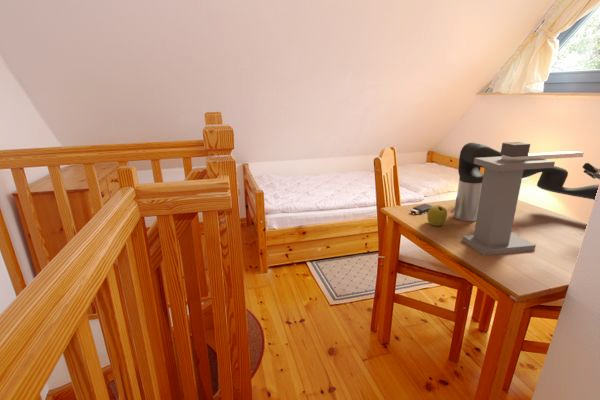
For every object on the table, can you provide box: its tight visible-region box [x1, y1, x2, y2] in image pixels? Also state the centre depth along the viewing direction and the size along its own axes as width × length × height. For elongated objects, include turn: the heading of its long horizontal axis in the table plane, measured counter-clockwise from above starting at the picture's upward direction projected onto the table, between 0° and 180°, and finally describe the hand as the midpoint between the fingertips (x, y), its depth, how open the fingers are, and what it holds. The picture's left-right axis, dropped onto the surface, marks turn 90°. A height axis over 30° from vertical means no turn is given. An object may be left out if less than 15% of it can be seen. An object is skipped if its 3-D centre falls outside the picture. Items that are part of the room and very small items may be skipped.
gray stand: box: [461, 156, 556, 256], centre depth 115 cm, size 20×12×32 cm, turn 98°
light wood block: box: [500, 141, 584, 161], centre depth 110 cm, size 28×5×6 cm, turn 98°
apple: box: [426, 205, 448, 227], centre depth 138 cm, size 8×8×10 cm
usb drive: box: [410, 203, 433, 215], centre depth 154 cm, size 5×12×3 cm, turn 124°
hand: (596, 167), depth 115 cm, fingers open, 8 cm apart
